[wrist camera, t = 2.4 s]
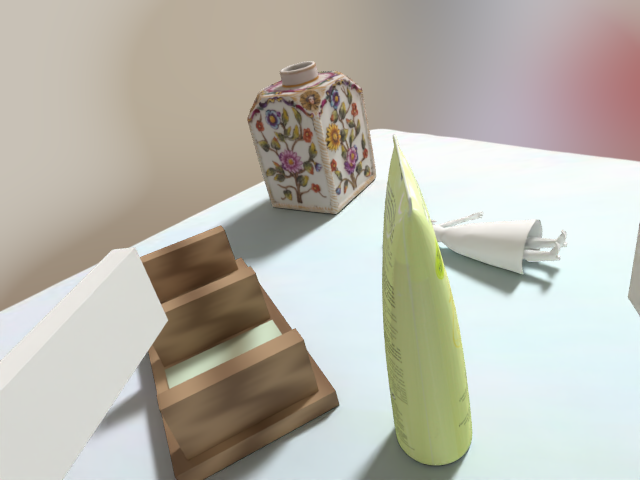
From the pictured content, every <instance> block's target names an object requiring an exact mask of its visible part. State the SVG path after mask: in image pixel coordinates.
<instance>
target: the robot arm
mask: <svg viewBox="0 0 640 480" xmlns="http://www.w3.org/2000/svg"><path fill="white" fill-rule="evenodd" d="M628 298H629V300H630V301H631V303H632V305H633V306H634V308H635V309H636V311H637V312H638V314H639V315H640V224H639V231H638V237H637V243H636V250H635V256H634V262H633V268H632V275H631V281H630V287H629V294H628ZM167 321H168V319H167V317H166V314H165V312H164V310H163V308H162V306H161V303H160V301H159V299H158V297H157V295H156V292H155V290H154V288H153V286H152V284H151V281H150V279H149V277H148V275H147V273H146V270H145V268H144V266H143V264H142V261H141V259H140V257H139V255H138V253H137V250H136V248H124V249H113V250H112V251H111V252H110V253H109V254H108V255H107V256H106V257H105V258H104V259H103V260H102V261H100V262H99V263H98V264H97V265H96V266H95V267H94V268H93V269H92V270H91V271H90V272H89V273H88V274H87V275H86V276H85V277H84V278H83V279H82V280H81V281H80V282H79V283H78V284H77V285H76V286H75V287H74V288H73V289H72V290H71V291H70V292H69V293H68V294H67V295H66V296H65V297H64V298H63V299H62V300H61V301H60V302H59V303H58V304H57V305H56V306H55V307H54V308H53V309H52V310H51V311H50V312H49V313H48V314H47V315H46V316H45V317H44V318H43V319H42V320H41V321H40V322H39V323H38V324H37V325H36V326H35V327H34V328H33V329H32V330H31V331H30V332H29V333H28V334H27V335H26V336H25V337H24V338H23V339H22V340H21V341H20V342H19V343H18V344H17V345H16V346H15V347H14V348H13V349H12V350H11V351H10V352H9V353H8V354H7V355H6V356H5V357H4V358H3V359H2V360H1V361H0V480H63V479H64V478H65V476H66V474H67V473H68V471H69V470H70V468H71V467H72V465H73V464H74V462H75V461H76V459H77V458H78V456H79V455H80V453H81V452H82V450H83V449H84V447H85V446H86V444H87V443H88V441H89V440H90V438H91V437H92V435H93V433H94V432H95V430H96V429H97V427H98V426H99V424H100V423H101V421H102V420H103V418H104V417H105V415H106V414H107V412H108V411H109V409H110V408H111V406H112V405H113V403H114V402H115V400H116V399H117V397H118V396H119V394H120V393H121V391H122V389H123V388H124V386H125V385H126V383H127V382H128V380H129V379H130V377H131V376H132V374H133V373H134V371H135V370H136V368H137V367H138V365H139V364H140V362H141V361H142V359H143V358H144V356H145V355H146V353H147V352H148V350H149V348H150V347H151V345H152V344H153V342H154V341H155V339H156V338H157V336H158V335H159V333H160V332H161V330H162V329H163V327H164V326H165V324H166V323H167Z"/></svg>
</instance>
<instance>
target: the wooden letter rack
mask: <svg viewBox="0 0 640 480" xmlns="http://www.w3.org/2000/svg"><path fill="white" fill-rule="evenodd" d="M140 259H141V261H142V264H143V266H144V268H145V270H146V273H147V275H148V277H149V279H150V281H151V284H152V286H153V288H154V290H155V292H156V295H157V297H158V299H159V301H160V303H161V306H162V308H163V310H164V312H165V314H166V317H167V319H168V321H167V323H166V324H165V326H164V327H163V329H162V330H161V332H160V333H159V335H158V336H157V338H156V339H155V341H154V342H153V344H152V345H151V347H150V348H149V350H148V353H149V357H150V362H151V367H152V371H153V376H154V381H155V385H156V390H157V400H158V405H159V410H160V412H161V414H162V418H163V423H164V428H165V432H166V437H167V442H168V446H169V451H170V456H171V461H172V465H173V470H174V475H175V478H176V480H204V479H205V478H207V477H209V476H211V475H213V474H214V473H216V472H218V471H220V470H222V469H224V468H225V467H227V466H229V465H231V464H233V463H234V462H236V461H238V460H240V459H242V458H244V457H245V456H247V455H249V454H251V453H253V452H255V451H256V450H258V449H260V448H262V447H264V446H265V445H267V444H269V443H271V442H273V441H275V440H276V439H278V438H280V437H282V436H284V435H285V434H287V433H289V432H291V431H293V430H295V429H296V428H298V427H300V426H302V425H304V424H305V423H307V422H309V421H311V420H313V419H315V418H316V417H318V416H320V415H322V414H324V413H326V412H327V411H329V410H331V409H333V408H335V407H336V406H338V405H339V402H338V398H337V394H336V391H335V389H334V388H333V387H332V385H331V384H330V382H329V381H328V379H327V378H326V377H325V375H324V374H323V372H322V371H321V370H320V368H319V367H318V365H317V364H316V363H315V361H314V360H313V358H312V357H311V355H310V354H309V353H308V351H307V349H306V346H305V343H304V340H303V338H302V337H301V335H300V334H299V333H298V331H297V330H296V329H293V330H292V329H291V327H290V326H289V324H288V323H287V322H286V320H285V319H284V317H283V316H282V315H281V313H280V312H279V310H278V309H277V307H276V306H275V305H274V303H273V302H272V300H271V299H270V298H269V296H268V295H267V293H266V292H265V291H264V289H263V288H262V286H261V285H260V283H259V282H258V279H257V276H256V273H255V272H254V270H253V269H252V268H251V266H250V267H248V266H247V265H246V264H245V262H244V261H243V259H242V258H239V259H236V260H235V258H234V255H233V252H232V250H231V247H230V244H229V241H228V238H227V236H226V233H225V230H224V229H223V227H222V226H218V227H216V228H213V229H211V230H208V231H206V232H203V233H200V234H198V235H195V236H193V237H190V238H188V239H185V240H183V241H180V242H177V243H175V244H172V245H170V246H167V247H165V248H162V249H160V250H157V251H155V252H152V253H149V254H147V255H144V256H142V257H140Z"/></svg>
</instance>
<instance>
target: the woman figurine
mask: <svg viewBox="0 0 640 480" xmlns="http://www.w3.org/2000/svg"><path fill="white" fill-rule="evenodd" d="M480 213H482V214H480ZM481 216H483V212H479V213H475V214H472V215H470V216H468V217H464V218H461V219H457V220H452V221H449V222H446V223H443V224H439V225H435V224H432V226H433V229H434V232H435V236H436V239H437V242H443V243H444V244H445V245H446V246H447V247H448V248H450V249H451V250H453V251H455V252H456V253H458V254H461V255H464V256H467V257H469V258H472V259H475V260H478V261H480V262H483V263H486V264H489V265H492V266H495V267H499V268H503V269H506V270H510V271H513V272H516V273H519V274H523V269H522V259H526V260H527V261H528V262H537V261H557V260H560V255H558V253H559V251H560V248H561V247H567V242H564V241H565V239H566V236H567V234H566V232H565V231H563V230H562V231H561V232H562V234H561V235H560V236H559V237H558V238H557V239H546V238H542V226H541V222H540V220H522V221H502V222H488V223H473V224H464V225H458V226H455V225H457V224H460V223H463V222H466V221H469V220H475V219H478V218H482V217H481ZM432 222H437V221H435V220H431V223H432ZM452 226H453V227H452ZM552 247H554V248H553V249H552V250H551V251H550V252H546V251H540V248H552ZM534 250H535V251H534ZM523 275H524V274H523Z"/></svg>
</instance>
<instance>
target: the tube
mask: <svg viewBox="0 0 640 480" xmlns="http://www.w3.org/2000/svg"><path fill="white" fill-rule="evenodd" d="M393 141H394V150H393V154H392V158H391V163H390V169H389V175H388V182H387V190H386V200H385V212H384V231H383V267H382V296H383V324H384V338H385V351H386V361H387V370H388V379H389V387H390V395H391V402H392V410H393V417H394V424H395V430H396V435H397V439H398V442H399V444H400V446H401V448H402V449H403V450H404V451H405V452H406V453H407V454H408V455H409V456H410V457H411V458H413V459H414V460H416V461H418V462H421V463H423V464H428V465H436V466H437V465H445V464H449V463H452V462H454V461H456V460H458V459H459V458H461V457H462V456H463V455H464V454H465V453H466V451H467V450H468V448H469V446H470V444H471V440H472V422H471V412H470V402H469V393H468V385H467V377H466V369H465V362H464V355H463V348H462V342H461V336H460V330H459V324H458V319H457V314H456V309H455V305H454V300H453V296H452V292H451V288H450V284H449V280H448V277H447V273H446V270H445V266H444V263H443V259H442V256H441V252H440V249H439V245H438V242H437V239H436V236H435V232H434V229H433V226H432V223H431V220H430V216H429V213H428V210H427V207H426V205H425V202H424V199H423V196H422V194H421V191H420V188H419V186H418V183H417V181H416V179H415V177H414V174H413V172H412V170H411V168H410V166H409V164H408V162H407V160H406V158H405V156H404V155H403V153H402V151H401V150H400V148H399V145H398V140H397V138H396V135H393Z"/></svg>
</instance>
